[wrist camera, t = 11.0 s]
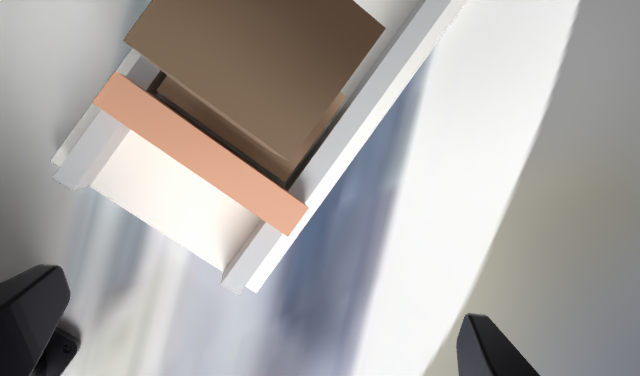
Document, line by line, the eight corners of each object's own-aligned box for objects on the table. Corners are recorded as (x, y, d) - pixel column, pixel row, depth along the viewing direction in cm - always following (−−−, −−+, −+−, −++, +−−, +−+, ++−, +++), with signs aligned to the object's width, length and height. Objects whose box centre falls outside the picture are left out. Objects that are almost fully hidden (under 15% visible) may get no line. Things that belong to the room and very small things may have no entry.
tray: (255, 287, 24) (257, 320, 19) (59, 160, 21) (9, 165, 17) (476, -18, 24) (527, -54, 19) (304, -177, 22) (318, -259, 17)
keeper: (281, 178, 22) (324, 229, 9) (165, 95, 21) (28, 21, 8) (338, 100, 22) (457, 44, 9) (225, 12, 21) (185, -194, 8)
